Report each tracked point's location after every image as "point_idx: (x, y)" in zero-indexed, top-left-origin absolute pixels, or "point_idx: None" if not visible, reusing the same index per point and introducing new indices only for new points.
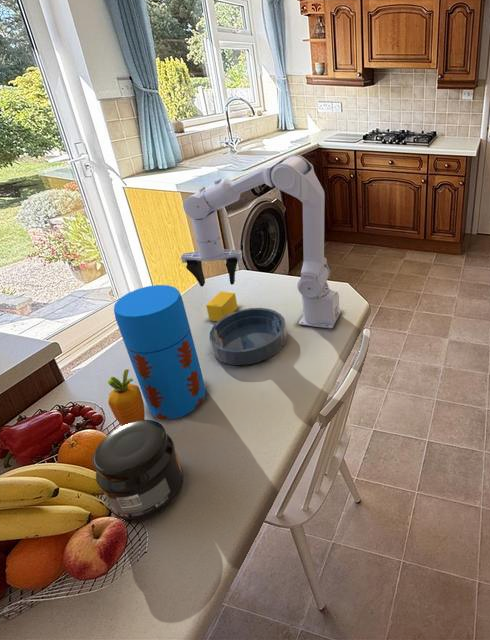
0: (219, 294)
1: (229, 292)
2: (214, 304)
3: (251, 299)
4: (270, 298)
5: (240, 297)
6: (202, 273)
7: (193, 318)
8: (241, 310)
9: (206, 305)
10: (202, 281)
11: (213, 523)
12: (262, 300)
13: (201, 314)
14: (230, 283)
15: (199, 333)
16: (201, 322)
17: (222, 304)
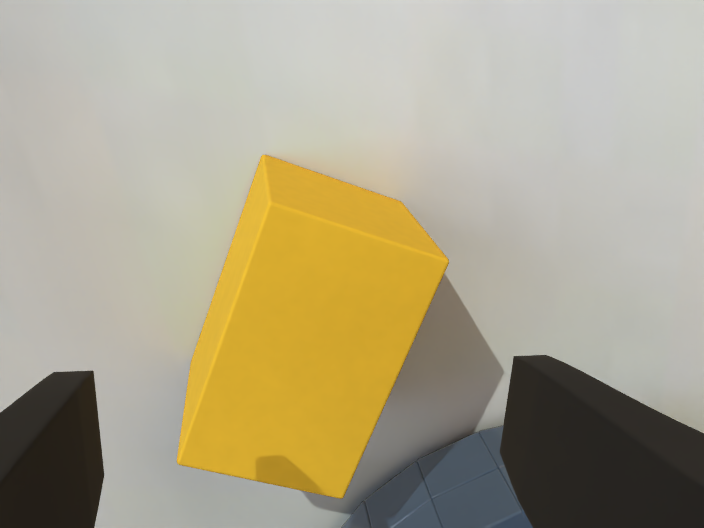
0: (273, 273)
1: (385, 239)
2: (264, 461)
3: (519, 66)
4: (690, 79)
5: (409, 3)
6: (30, 486)
7: (29, 319)
8: (519, 521)
9: (180, 464)
10: (84, 514)
11: None
12: (618, 104)
13: (83, 266)
14: (508, 474)
15: (159, 505)
16: (127, 381)
17: (346, 465)
